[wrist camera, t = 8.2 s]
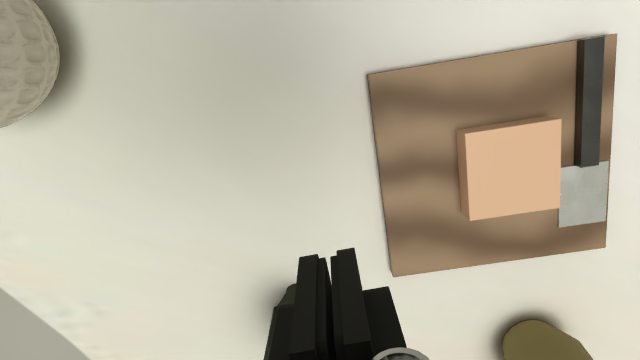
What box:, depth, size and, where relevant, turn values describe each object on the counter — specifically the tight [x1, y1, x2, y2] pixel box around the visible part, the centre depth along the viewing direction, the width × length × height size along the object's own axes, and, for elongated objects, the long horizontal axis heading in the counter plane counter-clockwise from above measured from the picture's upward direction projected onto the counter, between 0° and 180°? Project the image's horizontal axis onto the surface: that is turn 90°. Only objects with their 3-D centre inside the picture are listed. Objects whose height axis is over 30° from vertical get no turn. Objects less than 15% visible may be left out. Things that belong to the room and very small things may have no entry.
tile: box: [456, 116, 562, 221], centre depth 34 cm, size 8×2×8 cm
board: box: [367, 34, 617, 277], centre depth 36 cm, size 20×21×1 cm
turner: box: [557, 36, 609, 228], centre depth 34 cm, size 17×4×1 cm, turn 9°
